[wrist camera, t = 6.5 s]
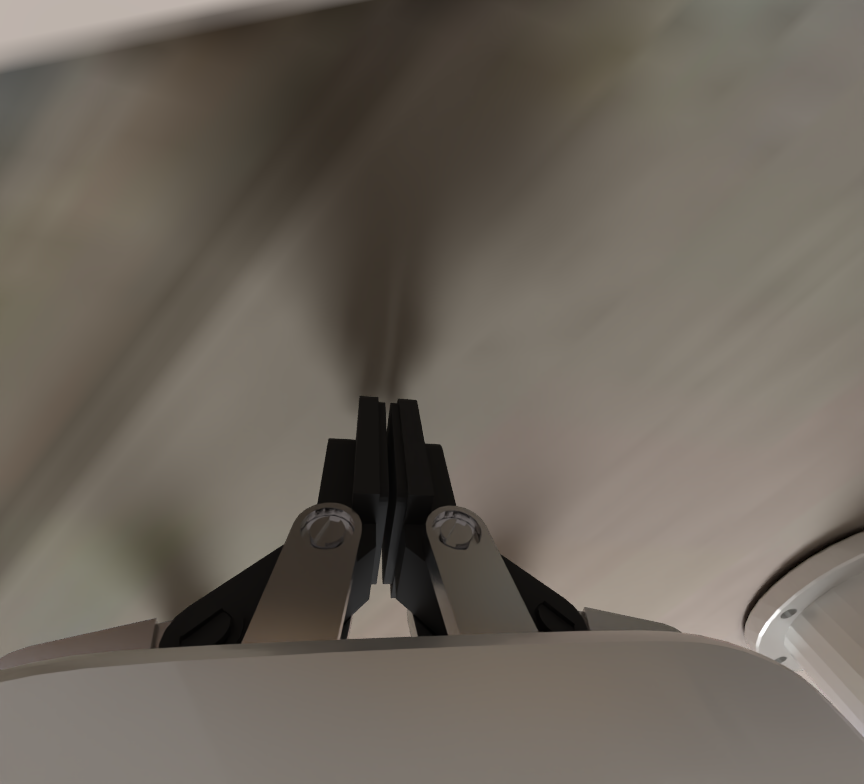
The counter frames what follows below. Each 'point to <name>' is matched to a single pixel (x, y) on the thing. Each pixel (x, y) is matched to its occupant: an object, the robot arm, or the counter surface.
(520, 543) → the counter surface
